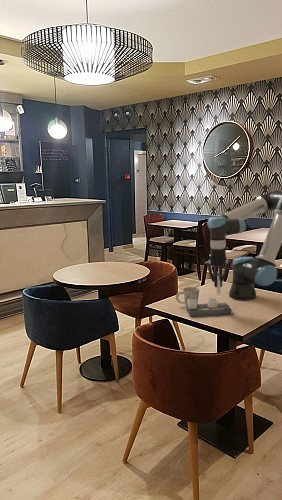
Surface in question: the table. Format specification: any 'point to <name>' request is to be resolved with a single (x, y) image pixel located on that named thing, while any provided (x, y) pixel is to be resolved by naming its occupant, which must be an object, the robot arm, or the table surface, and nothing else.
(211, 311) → the console
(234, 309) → the table surface
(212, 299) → the toggle
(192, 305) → the toggle
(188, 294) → the mug
